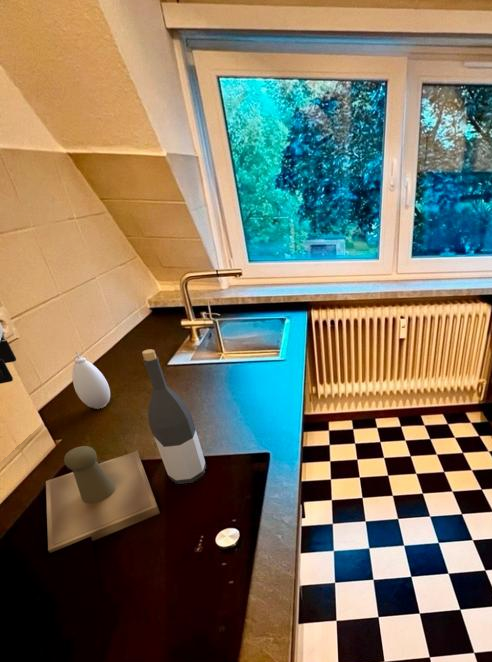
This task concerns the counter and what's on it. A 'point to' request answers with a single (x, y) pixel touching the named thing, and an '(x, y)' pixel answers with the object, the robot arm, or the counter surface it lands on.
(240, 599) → the counter surface
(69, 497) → the cutting board
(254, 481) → the counter surface
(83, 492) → the pepper mill
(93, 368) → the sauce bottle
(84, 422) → the counter surface
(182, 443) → the wine bottle
